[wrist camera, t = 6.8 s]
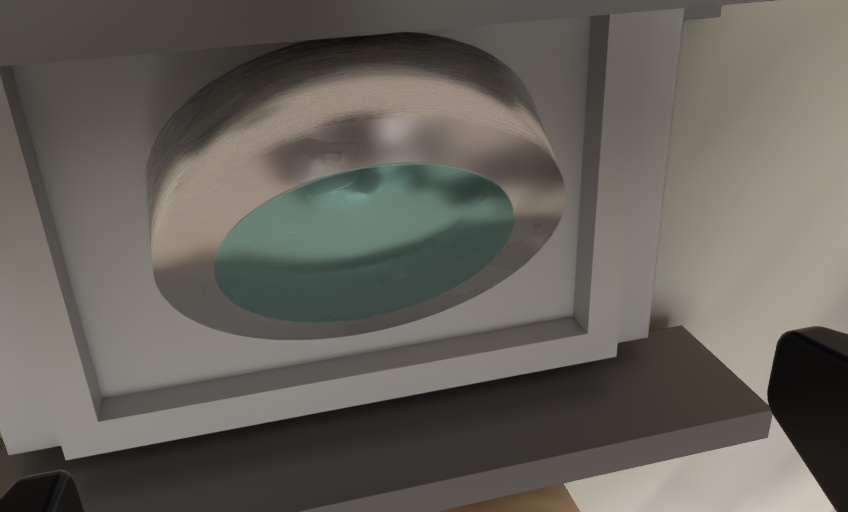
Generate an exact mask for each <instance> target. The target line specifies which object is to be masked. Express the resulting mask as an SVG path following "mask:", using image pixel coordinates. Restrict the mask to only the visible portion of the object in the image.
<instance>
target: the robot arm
mask: <svg viewBox="0 0 848 512" xmlns="http://www.w3.org/2000/svg"><path fill="white" fill-rule="evenodd" d="M767 396H768V403H769V407H770V409H771V412H772V414H773V415H774V417H775V419H776V420H777V422H778V423H779V425H780V426H781V428H782V429H783V431H784V432H785V434H786V435H787V437H788V438H789V440H790V441H791V443H792V444H793V446H794V447H795V449H796V450H797V452H798V454H799V455H800V457H801V458H802V460H803V461H804V463H805V464H806V466H807V467H808V469H809V470H810V472H811V473H812V475H813V476H814V478H815V479H816V481H817V482H818V484H819V485H820V487H821V489H822V490H823V492H824V493H825V495H826V496H827V498H828V499H829V501H830V502H831V504H832V505H833V507H834V508H835V510H836V511H837V512H848V334H845V333H842V332H838V331H835V330H832V329H828V328H825V327H820V326H812V327H807V328H802V329H796V330H791V331H788V332H786V333H784V334H782V336H781V337H780V339H779V340H778V342H777V345H776V350H775V355H774V360H773V365H772V370H771V375H770V380H769V385H768V391H767ZM0 512H84V510H83V506H82V503H81V500H80V497H79V494H78V490H77V487H76V484H75V481H74V479H73V477H72V475H71V474H70V473H69V472H67V471H65V470H57V471H51V472H46V473H41V474H35V475H30V476H26V477H23V478H20V479H19V480H17V481H16V482H15V483H14V484H13V485H12V486H11V487H10V488H9V489H8V490H7V491H6V492H5V493H4V494H3V495H2V496H1V497H0Z"/></svg>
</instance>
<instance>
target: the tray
mask: <svg viewBox="0 0 848 512" xmlns="http://www.w3.org/2000/svg"><path fill="white" fill-rule="evenodd" d="M683 16H684V8H680V9H668V10H656V11H645V12H633V13H621V14H609V15H598V16H586V17H574V18H562V19H551V20H539V21H527V22H515V23H504V24H492V25H480V26H468V27H457V28H445V29H433V30H421V31H410V32H417V33H426V34H431V35H436V36H441V37H446V38H451V39H454V40H457V41H460V42H463V43H466V44H469V45H472V46H475V47H477V48H479V49H481V50H483V51H485V52H487V53H489V54H491V55H493V56H495V57H496V58H497V59H499V60H500V61H502V62H503V63H504V64H506V65H507V66H509V67H510V68H511V69H512V70H513V71H514V72H515V73H516V74H517V75H518V76H519V77H520V79H521V80H522V81H523V82H524V84H525V86H526V87H527V89H528V91H529V92H530V94H531V96H532V99H533V101H534V104H535V106H536V109H537V112H538V114H539V117H540V119H541V122H542V125H543V127H544V130H545V132H546V135H547V138H548V140H549V143H550V145H551V148H552V151H553V153H554V156H555V159H556V161H557V164H558V166H559V169H560V172H561V174H562V177H563V180H564V184H565V190H566V202H565V207H564V212H563V215H562V217H561V219H560V222H559V224H558V226H557V228H556V229H555V231H554V233H553V234H552V236H551V237H550V239H549V240H548V241H547V242H546V244H545V245H544V246H543V247H542V248H541V249H540V251H539V252H538V253H537V254H536V255H535V256H534V257H532V258H531V259H530V260H529V261H528V262H527V263H526V264H525V265H524V266H522V267H521V268H520V269H518V270H517V271H516V272H515V273H513V274H512V275H511V276H509V277H508V278H506V279H505V280H503V281H502V282H500V283H499V284H497V285H496V286H494V287H492V288H490V289H489V290H487V291H485V292H483V293H481V294H480V295H478V296H476V297H474V298H472V299H470V300H468V301H466V302H463V303H461V304H459V305H457V306H454V307H452V308H450V309H447V310H445V311H442V312H440V313H437V314H434V315H432V316H429V317H426V318H423V319H420V320H417V321H414V322H410V323H407V324H404V325H400V326H396V327H392V328H388V329H384V330H380V331H375V332H370V333H365V334H359V335H353V336H346V337H339V338H329V339H317V340H270V339H260V338H251V337H245V336H239V335H233V334H230V333H226V332H222V331H218V330H215V329H212V328H209V327H207V326H204V325H201V324H199V323H197V322H195V321H193V320H191V319H189V318H188V317H186V316H184V315H183V314H181V313H180V312H179V311H177V310H176V309H175V308H173V307H172V306H171V305H170V304H169V303H168V302H167V300H166V299H165V298H164V297H163V296H162V294H161V293H160V291H159V289H158V287H157V285H156V283H155V279H154V274H153V269H152V257H151V245H150V232H149V220H148V208H147V196H146V166H147V162H148V158H149V155H150V151H151V148H152V146H153V144H154V142H155V140H156V138H157V136H158V135H159V133H160V131H161V130H162V128H163V127H164V126H165V124H166V123H167V122H168V120H169V119H170V118H171V116H172V115H173V114H174V113H175V112H176V111H177V110H178V109H179V108H180V107H181V106H182V105H183V104H184V103H185V102H186V101H187V100H188V99H189V98H190V97H191V96H192V95H194V94H195V93H197V92H198V91H199V90H201V89H202V88H203V87H205V86H206V85H207V84H209V83H210V82H211V81H213V80H214V79H216V78H218V77H219V76H221V75H223V74H225V73H226V72H228V71H230V70H232V69H233V68H235V67H237V66H239V65H241V64H243V63H245V62H248V61H250V60H252V59H254V58H257V57H259V56H261V55H263V54H266V53H268V52H271V51H274V50H277V49H280V48H283V47H287V46H290V45H293V44H296V43H299V42H304V41H308V40H304V41H292V42H280V43H269V44H257V45H245V46H233V47H222V48H210V49H198V50H186V51H175V52H163V53H151V54H140V55H128V56H116V57H104V58H93V59H81V60H69V61H57V62H46V63H34V64H22V65H10V66H0V433H1V436H2V438H3V441H4V444H5V447H6V449H2V450H0V497H1V496H2V495H3V494H4V493H5V492H6V491H7V490H8V489H9V488H10V487H11V486H12V485H13V484H14V483H15V482H16V481H17V480H19V479H20V478H23V477H26V476H30V475H35V474H41V473H46V472H51V471H57V470H65V471H67V472H69V473H70V474H71V475H72V477H73V479H74V481H75V484H76V487H77V490H78V494H79V497H80V500H81V503H82V506H83V510H84V512H436V511H441V510H445V509H450V508H454V507H459V506H463V505H468V504H472V503H477V502H481V501H486V500H490V499H495V498H499V497H504V496H508V495H513V494H517V493H522V492H526V491H531V490H535V489H540V488H544V487H549V486H553V485H558V484H562V483H567V482H571V481H576V480H580V479H584V478H589V477H593V476H598V475H602V474H607V473H611V472H616V471H620V470H625V469H629V468H634V467H638V466H643V465H647V464H652V463H656V462H661V461H665V460H670V459H674V458H679V457H683V456H688V455H692V454H697V453H701V452H706V451H710V450H715V449H719V448H724V447H728V446H733V445H737V444H742V443H746V442H750V441H755V440H759V439H764V438H768V433H769V429H770V424H771V419H772V412H771V409H770V407H769V405H768V404H767V403H765V402H764V401H763V400H762V399H761V398H760V397H759V396H758V395H757V394H756V393H755V392H754V391H752V390H751V389H750V388H749V387H748V386H747V385H746V384H745V383H744V382H743V381H742V380H741V379H739V378H738V377H737V376H736V375H735V374H734V373H733V372H732V371H731V370H730V369H729V368H728V367H726V366H725V365H724V364H723V363H722V362H721V361H720V360H719V359H718V358H717V357H716V356H714V355H713V354H712V353H711V352H710V351H709V350H708V349H707V348H706V347H705V346H704V345H703V344H701V343H700V342H699V341H698V340H697V339H696V338H695V337H694V336H693V335H692V334H691V333H690V332H688V331H687V330H686V329H685V328H684V327H683V326H682V325H681V326H676V327H670V328H665V329H659V330H654V331H649V322H650V313H651V304H652V295H653V286H654V277H655V268H656V259H657V250H658V241H659V232H660V223H661V214H662V205H663V196H664V187H665V178H666V169H667V160H668V151H669V142H670V133H671V124H672V115H673V106H674V97H675V88H676V79H677V70H678V61H679V52H680V43H681V34H682V25H683Z"/></svg>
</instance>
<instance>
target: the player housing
mask: <svg viewBox="0 0 848 512" xmlns="http://www.w3.org/2000/svg"><path fill="white" fill-rule="evenodd" d="M762 1H774V0H0V66H10V65H22V64H34V63H46V62H57V61H69V60H81V59H93V58H104V57H116V56H128V55H140V54H151V53H163V52H175V51H186V50H198V49H210V48H222V47H233V46H245V45H257V44H269V43H280V42H292V41H304V40H316V39H327V38H339V37H351V36H363V35H374V34H386V33H398V32H410V31H421V30H433V29H445V28H457V27H468V26H480V25H492V24H504V23H515V22H527V21H539V20H551V19H562V18H574V17H586V16H598V15H609V14H621V13H633V12H645V11H656V10H668V9H680V8H684V16H683V20H690V19H701V18H712V17H720V14H721V7H722V5H727V4H739V3H750V2H762Z"/></svg>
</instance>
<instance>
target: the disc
mask: <svg viewBox="0 0 848 512" xmlns="http://www.w3.org/2000/svg"><path fill="white" fill-rule="evenodd" d="M146 196H147V208H148V220H149V232H150V245H151V257H152V269H153V274H154V279H155V283H156V285H157V287H158V289H159V291H160V293H161V294H162V296H163V297H164V298H165V299H166V300H167V302H168V303H169V304H170V305H171V306H172V307H173V308H175V309H176V310H177V311H179V312H180V313H181V314H183V315H184V316H186V317H188V318H189V319H191V320H193V321H195V322H197V323H199V324H201V325H204V326H207V327H209V328H212V329H215V330H218V331H222V332H226V333H230V334H233V335H239V336H245V337H251V338H260V339H270V340H317V339H329V338H339V337H346V336H353V335H359V334H365V333H370V332H375V331H380V330H384V329H388V328H392V327H396V326H400V325H404V324H407V323H410V322H414V321H417V320H420V319H423V318H426V317H429V316H432V315H434V314H437V313H440V312H442V311H445V310H447V309H450V308H452V307H454V306H457V305H459V304H461V303H463V302H466V301H468V300H470V299H472V298H474V297H476V296H478V295H480V294H481V293H483V292H485V291H487V290H489V289H490V288H492V287H494V286H496V285H497V284H499V283H500V282H502V281H503V280H505V279H506V278H508V277H509V276H511V275H512V274H513V273H515V272H516V271H517V270H518V269H520V268H521V267H522V266H524V265H525V264H526V263H527V262H528V261H529V260H530V259H531V258H532V257H534V256H535V255H536V254H537V253H538V252H539V251H540V249H541V248H542V247H543V246H544V245H545V244H546V242H547V241H548V240H549V239H550V237H551V236H552V234H553V233H554V231H555V229H556V228H557V226H558V224H559V222H560V219H561V217H562V215H563V212H564V207H565V202H566V190H565V184H564V180H563V177H562V174H561V172H560V169H559V166H558V164H557V161H556V159H555V156H554V153H553V151H552V148H551V145H550V143H549V140H548V138H547V135H546V132H545V130H544V127H543V125H542V122H541V119H540V117H539V114H538V112H537V109H536V106H535V104H534V101H533V99H532V96H531V94H530V92H529V91H528V89H527V87H526V86H525V84H524V82H523V81H522V80H521V79H520V77H519V76H518V75H517V74H516V73H515V72H514V71H513V70H512V69H511V68H510V67H509V66H507V65H506V64H504V63H503V62H502V61H500V60H499V59H497V58H496V57H495V56H493V55H491V54H489V53H487V52H485V51H483V50H481V49H479V48H477V47H475V46H472V45H469V44H466V43H463V42H460V41H457V40H454V39H451V38H446V37H441V36H436V35H431V34H426V33H417V32H398V33H386V34H374V35H363V36H351V37H339V38H327V39H316V40H308V41H304V42H299V43H296V44H293V45H290V46H287V47H283V48H280V49H277V50H274V51H271V52H268V53H266V54H263V55H261V56H259V57H257V58H254V59H252V60H250V61H248V62H245V63H243V64H241V65H239V66H237V67H235V68H233V69H232V70H230V71H228V72H226V73H225V74H223V75H221V76H219V77H218V78H216V79H214V80H213V81H211V82H210V83H209V84H207V85H206V86H205V87H203V88H202V89H201V90H199V91H198V92H197V93H195V94H194V95H192V96H191V97H190V98H189V99H188V100H187V101H186V102H185V103H184V104H183V105H182V106H181V107H180V108H179V109H178V110H177V111H176V112H175V113H174V114H173V115H172V116H171V118H170V119H169V120H168V122H167V123H166V124H165V126H164V127H163V128H162V130H161V131H160V133H159V135H158V136H157V138H156V140H155V142H154V144H153V146H152V148H151V151H150V155H149V158H148V162H147V166H146Z"/></svg>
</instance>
